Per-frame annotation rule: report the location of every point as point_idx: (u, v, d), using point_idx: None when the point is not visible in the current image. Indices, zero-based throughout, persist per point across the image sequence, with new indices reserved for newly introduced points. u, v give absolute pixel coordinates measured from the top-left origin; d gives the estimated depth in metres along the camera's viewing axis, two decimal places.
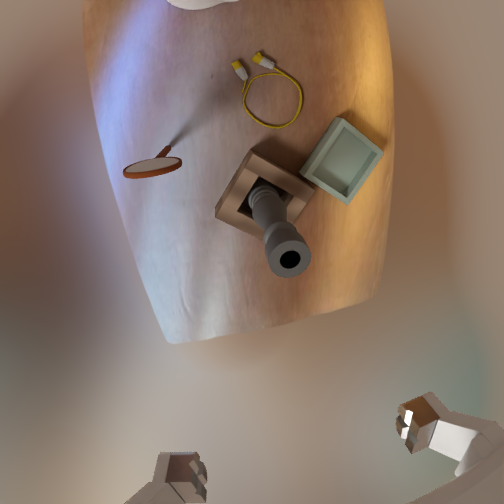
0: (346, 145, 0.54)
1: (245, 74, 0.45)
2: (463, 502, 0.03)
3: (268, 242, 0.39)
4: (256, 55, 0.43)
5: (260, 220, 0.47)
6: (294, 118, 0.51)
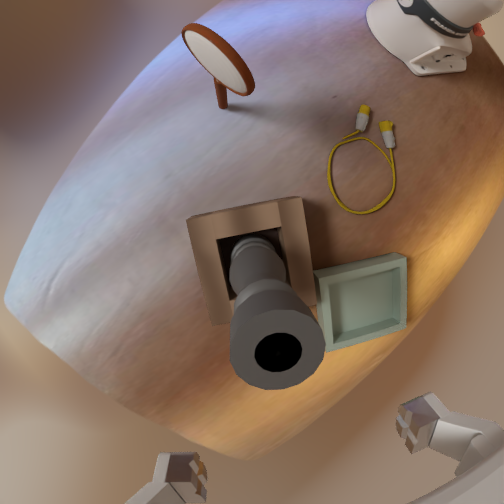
0: (379, 289, 0.42)
1: (364, 125, 0.36)
2: (463, 502, 0.03)
3: (263, 295, 0.18)
4: (388, 122, 0.36)
5: (247, 268, 0.27)
6: (363, 212, 0.39)
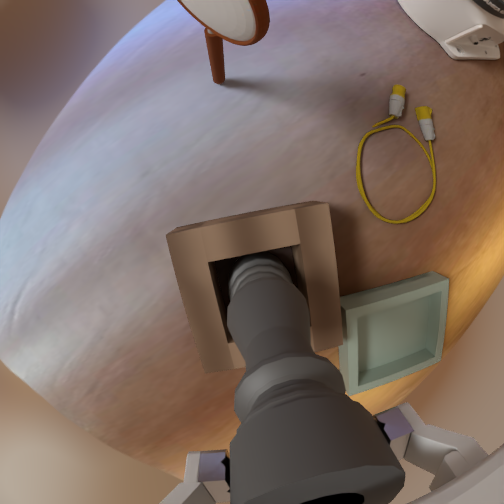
0: (413, 317, 0.32)
1: (400, 110, 0.26)
2: (463, 502, 0.03)
3: (296, 414, 0.08)
4: (427, 108, 0.26)
5: (254, 316, 0.17)
6: (399, 221, 0.29)
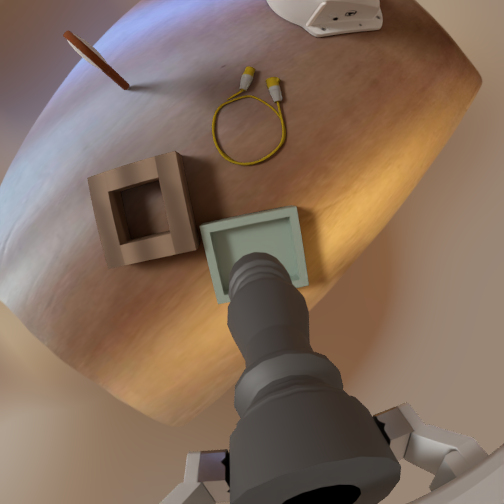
0: (274, 243, 0.44)
1: (247, 84, 0.39)
2: (463, 502, 0.03)
3: (294, 407, 0.08)
4: (274, 78, 0.39)
5: (254, 315, 0.17)
6: (249, 163, 0.42)
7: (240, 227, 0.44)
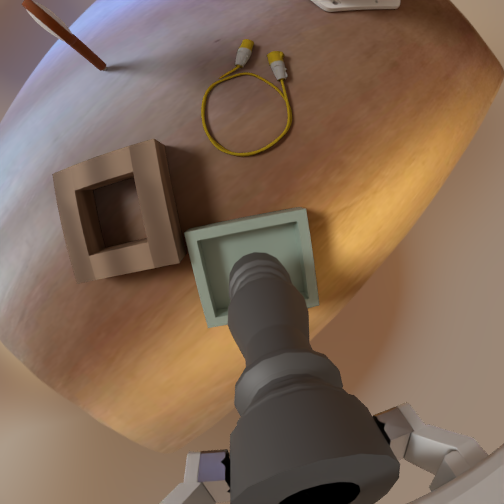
0: (277, 253, 0.36)
1: (244, 59, 0.30)
2: (463, 502, 0.03)
3: (294, 405, 0.08)
4: (276, 52, 0.30)
5: (254, 315, 0.17)
6: (247, 153, 0.33)
7: (235, 234, 0.35)
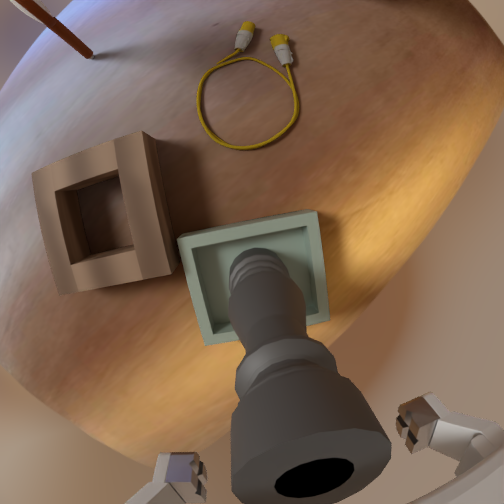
0: (283, 262, 0.32)
1: (244, 42, 0.26)
2: (463, 502, 0.03)
3: (293, 384, 0.09)
4: (281, 35, 0.26)
5: (254, 305, 0.18)
6: (249, 146, 0.29)
7: (236, 240, 0.31)
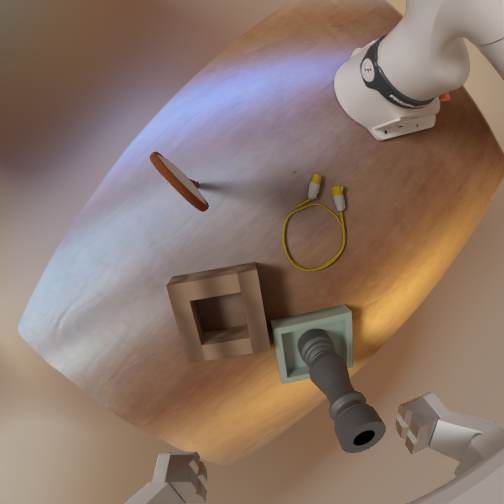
0: (328, 335, 0.51)
1: (315, 194, 0.46)
2: (463, 502, 0.03)
3: (357, 410, 0.28)
4: (339, 187, 0.46)
5: (329, 374, 0.38)
6: (314, 269, 0.49)
7: None
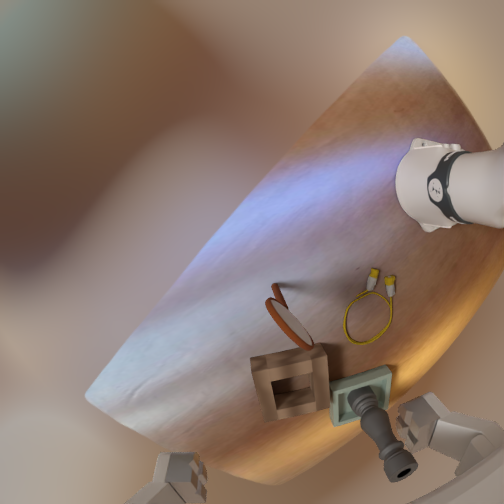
0: (371, 388, 0.57)
1: (373, 286, 0.51)
2: (463, 502, 0.03)
3: (401, 456, 0.35)
4: (392, 278, 0.51)
5: (378, 427, 0.44)
6: (366, 343, 0.54)
7: None
